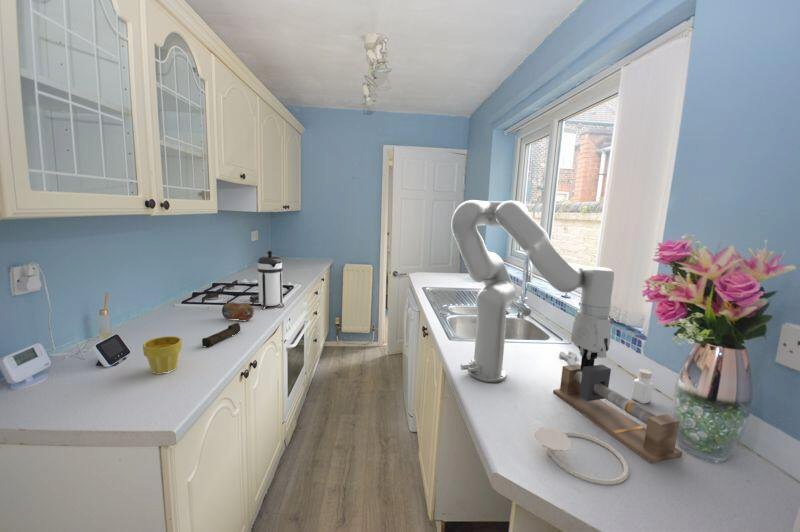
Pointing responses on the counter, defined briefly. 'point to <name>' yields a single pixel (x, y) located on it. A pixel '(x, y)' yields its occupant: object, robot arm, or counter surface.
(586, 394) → the collar
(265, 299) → the coffee press
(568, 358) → the adjustable wrench
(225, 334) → the hand tool
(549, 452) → the hand towel holder
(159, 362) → the plant pot
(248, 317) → the tin
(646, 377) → the salt shaker
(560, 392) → the pipe stand
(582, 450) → the counter surface
